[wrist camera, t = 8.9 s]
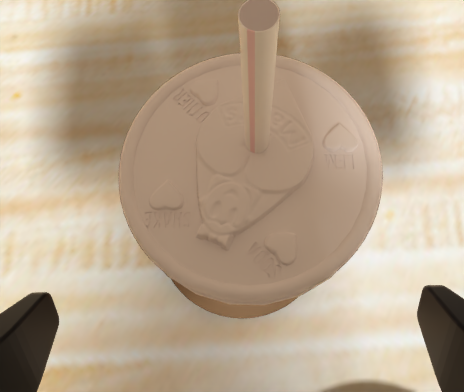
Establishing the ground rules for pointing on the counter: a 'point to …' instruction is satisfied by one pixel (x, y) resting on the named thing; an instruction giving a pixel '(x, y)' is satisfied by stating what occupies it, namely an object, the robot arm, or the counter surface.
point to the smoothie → (250, 172)
